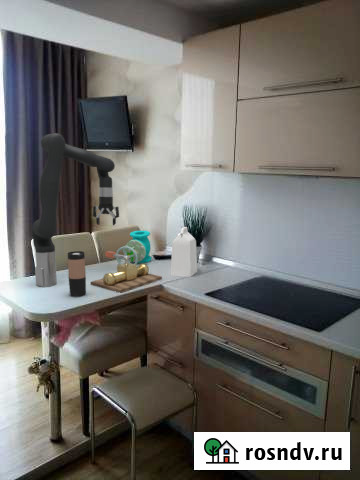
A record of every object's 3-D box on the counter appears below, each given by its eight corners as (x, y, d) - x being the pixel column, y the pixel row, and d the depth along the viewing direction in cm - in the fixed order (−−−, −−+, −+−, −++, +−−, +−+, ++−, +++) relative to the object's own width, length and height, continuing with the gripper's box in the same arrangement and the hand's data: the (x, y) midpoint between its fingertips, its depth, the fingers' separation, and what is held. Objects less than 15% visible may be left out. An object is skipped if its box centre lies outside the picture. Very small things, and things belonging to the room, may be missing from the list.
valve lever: (126, 261, 198) (126, 255, 198) (105, 256, 208) (105, 251, 208) (130, 260, 201) (130, 254, 200) (109, 255, 210) (109, 250, 210)
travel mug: (72, 292, 186) (70, 251, 182) (88, 292, 186) (86, 251, 182) (67, 297, 178) (65, 254, 175) (83, 297, 178) (81, 254, 174)
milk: (190, 276, 212) (190, 229, 207) (170, 275, 216) (170, 228, 211) (197, 271, 223) (197, 226, 219) (178, 269, 227) (178, 225, 222)
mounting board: (120, 293, 184) (120, 289, 184) (90, 284, 198) (90, 281, 197) (162, 279, 208) (161, 276, 207) (132, 272, 221) (132, 270, 221)
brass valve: (111, 287, 189) (110, 265, 187) (101, 285, 194) (101, 263, 192) (150, 275, 211) (149, 255, 209) (140, 273, 215) (140, 253, 213)
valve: (154, 231, 248) (134, 245, 221) (155, 257, 253) (136, 274, 226) (133, 229, 252) (112, 243, 225) (135, 255, 257) (114, 272, 230)
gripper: (91, 195, 212) (91, 225, 214) (117, 196, 211) (117, 226, 214) (94, 195, 219) (95, 223, 222) (120, 195, 218) (120, 224, 221)
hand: (106, 224), depth 218 cm, fingers open, 8 cm apart
